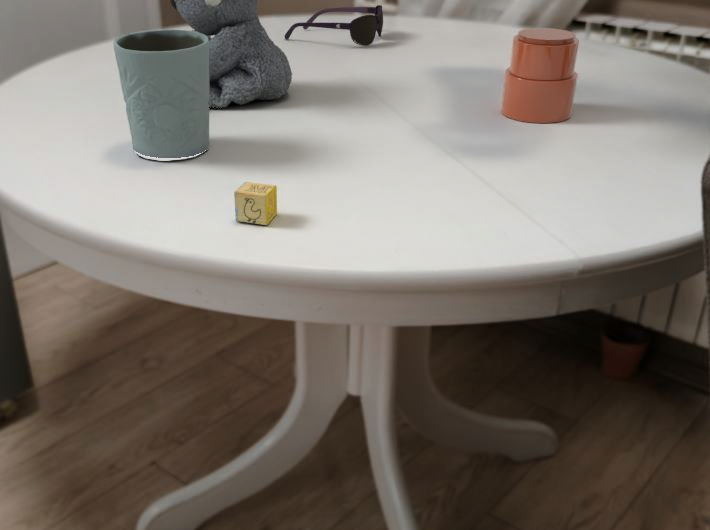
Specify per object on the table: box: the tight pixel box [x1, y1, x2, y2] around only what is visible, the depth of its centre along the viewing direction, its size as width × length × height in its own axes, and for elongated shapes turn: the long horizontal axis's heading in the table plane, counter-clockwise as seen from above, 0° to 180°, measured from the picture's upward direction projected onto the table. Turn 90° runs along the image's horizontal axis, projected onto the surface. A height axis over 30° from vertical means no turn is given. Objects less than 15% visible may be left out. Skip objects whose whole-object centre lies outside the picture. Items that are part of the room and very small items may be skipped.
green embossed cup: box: [112, 28, 210, 158], centre depth 88 cm, size 10×10×12 cm
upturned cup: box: [500, 27, 580, 124], centre depth 100 cm, size 9×9×10 cm
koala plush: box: [169, 0, 293, 109], centre depth 105 cm, size 17×18×20 cm
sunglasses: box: [284, 4, 384, 47], centre depth 138 cm, size 14×16×5 cm
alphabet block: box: [233, 181, 278, 226], centre depth 74 cm, size 3×3×3 cm
